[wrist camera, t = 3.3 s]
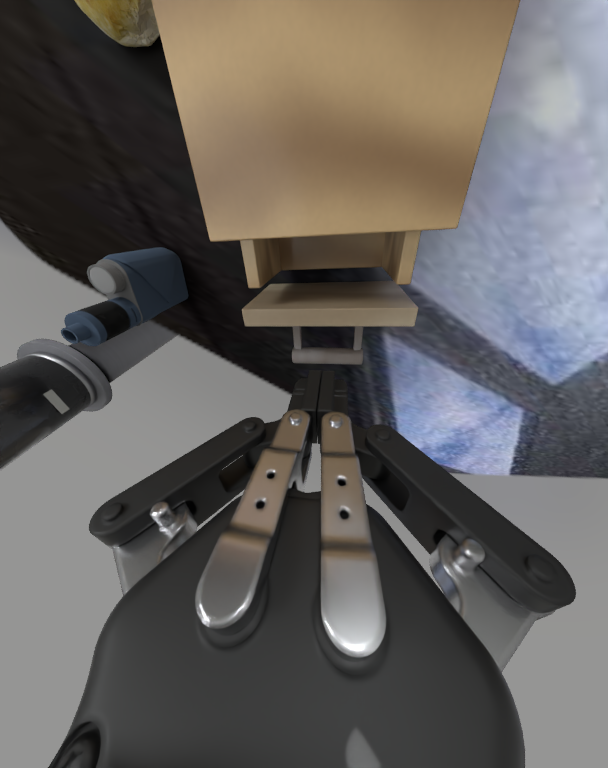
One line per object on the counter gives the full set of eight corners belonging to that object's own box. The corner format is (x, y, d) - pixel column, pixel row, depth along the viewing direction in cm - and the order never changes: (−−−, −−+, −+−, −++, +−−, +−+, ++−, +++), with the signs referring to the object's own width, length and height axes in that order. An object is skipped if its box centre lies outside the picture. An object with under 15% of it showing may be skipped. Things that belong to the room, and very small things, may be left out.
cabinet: (409, 225, 19) (457, 228, 11) (260, 233, 20) (209, 241, 13) (489, -227, 10) (1106, -2098, 2) (208, -143, 11) (-77, -927, 4)
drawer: (384, 340, 24) (400, 383, 17) (277, 339, 25) (255, 379, 19) (437, 20, 13) (534, -179, 6) (240, 54, 14) (160, -78, 8)
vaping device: (169, 300, 25) (62, 351, 15) (154, 245, 22) (7, 264, 12) (191, 303, 25) (97, 356, 15) (179, 247, 22) (51, 269, 12)
